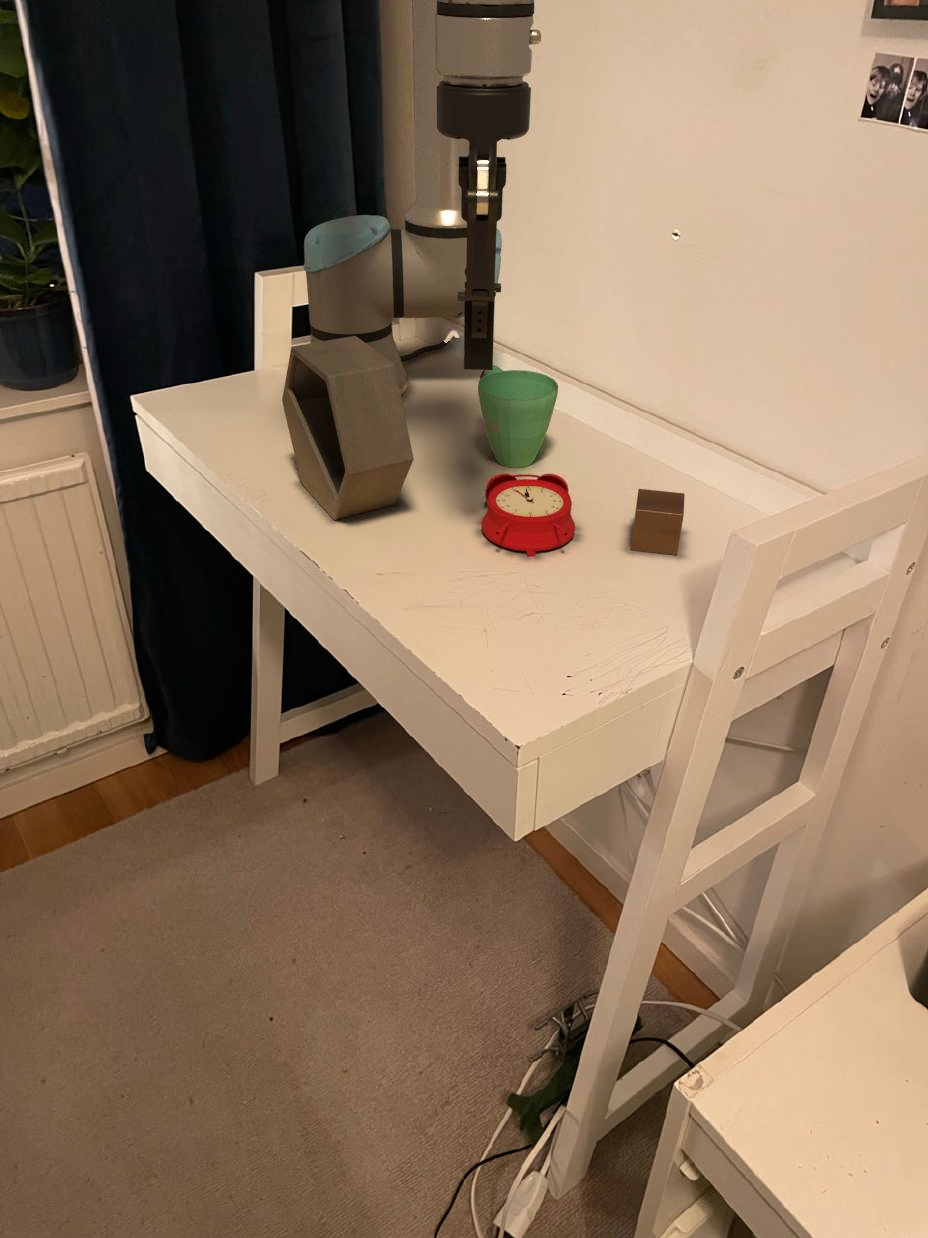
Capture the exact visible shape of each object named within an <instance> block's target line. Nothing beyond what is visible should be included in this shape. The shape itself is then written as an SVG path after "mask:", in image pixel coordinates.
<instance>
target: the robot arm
mask: <svg viewBox="0 0 928 1238" xmlns="http://www.w3.org/2000/svg"><path fill="white" fill-rule="evenodd" d="M411 12H412V13H411V15H412V20H411V21H412V65H413V66H412V67H413V68H412V70H413V73H412V74H413V112H414V113H413V114H414V115H413V117H414V119H413V120H414V121H413V122H414V123H413V124H414V173H415V174H414V175H415V176H414V178H415V183H414V184H415V201H414V203H413V204H412V206H411V207H410V208H408V210H407V211H406V212H405V213H404V228H391V224H390V223H389V221H388V219H387V218H386V217H384V216H381V215H377V214H376V215H375V214H374V215H370V214H361V215H359V214H358V215H352V216H344V217H339V218H335V219H331V220H328V221H325V222H322V223H320V224H318V225H316V226H314V227H313V228H311V229H310V230H309V231H308V232H307V234H306V235H305V237H304V241H303V242H304V243H303V252H304V253H303V254H304V263H303V271H304V272H305V278H306V289H307V300H308V301H307V303H308V315H309V327H310V342H309V344H310V343H316V342H322V341H328V340H334V339H340V338H345V337H351V336H356V337H358V338H359V339H361V340H362V341H363V342H365V343H366V344H368V345H369V346H370V347H372V348H373V349H375V350H376V351H377V352H379V353H380V354H381V355H383V356H384V357H386V358H387V359H388V360H390V361H391V362H393V363H394V365H395V368H396V373H397V378H398V383H399V388H400V393H401V396H402V395H404V394H405V392H406V390H407V385H408V384H407V374H406V369H405V367H404V366H403V363H405V362H409V361H411V360H414V359H416V358H418V357H420V356H421V355H424V354H427V353H431V352H437V351H439V350H442V349H444V348H445V347H447V346H448V345H449V343H450V342H451V341H448V342H447V343H445V342H444V341H443V340H441V342H438V343H435V344H429V345H426V346H423V347H419V348H417V349H416V350H414V351H412V352H410V353H407V354H403V355H400V352H399V350H398V347H397V345H396V344H397V343H396V342H395V339H394V335H393V319H429V318H430V319H431V318H432V319H434V318H435V319H438V318H454V319H458V320H459V319H462V318H463V324H464V325H463V370H464V371H466V370H468V371H483V370H493V365H494V336H495V304H496V296H497V293H502V282H501V283H499V279H500V273H501V272H500V271H501V263H502V256H501V254H502V246H503V244H502V243H503V241H502V232H501V231H500V229H499V228H498V222H499V221H500V220H501V219H502V216H503V195H504V194H503V191H504V188H505V186H506V185H507V163H506V162H507V161H506V156H498V142H499V141H501V140H507V141H512V140H515V139H519V138H522V137H524V136H526V135H527V133H528V132H529V130H530V120H531V118H530V117H531V100H532V99H531V98H532V87H531V86H530V85H529V83H528V82H527V81H524V77H527V76H529V74H531V72H532V61H533V50H532V49H531V48H530V45H539V44H540V43H541V42H542V33H541V30H539V29H531V28H532V27H533V25H534V14H535V0H411Z"/></svg>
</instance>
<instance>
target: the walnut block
mask: <svg viewBox="0 0 928 1238" xmlns="http://www.w3.org/2000/svg"><path fill="white" fill-rule="evenodd" d="M685 494H686V493H685V492H675V491H666V490H665V491H664V490H656V489H646V488H638V489H637V496H636V497H637V498H636V503H635V511H634V512H635V513H634V520H633V526H632V527H633V528H632V534H631V543H630V551H635V552H644V553H652V554H653V553H654V554H663V555H672V556H677V555H678V552H679V546H680V540H681V534H682V528H683V522H684V517H685V516H684V515H685Z"/></svg>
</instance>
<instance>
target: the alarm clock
mask: <svg viewBox="0 0 928 1238" xmlns="http://www.w3.org/2000/svg"><path fill="white" fill-rule="evenodd" d="M522 477H524V478H522ZM525 477H527V478H525ZM528 477H530V478H528ZM518 478H520V479H518ZM531 478H535V479H531ZM536 478H537V479H536ZM484 495H485V499H486V501H487V509H486V512H485V514H484V515H483V517H482V519H481V531H482V533H483V534H484V536H485V537H486V538H487V539H488V540H490V541H491V542H492V543H494V544H496V545H497V546H501V547H503V548H506V549H510V550H514V551H520V552H526V557H536V552H542V551H548V550H552V549H556V548H558V547H561V546H563V545H565V544H566V543H568V542H570V541H571V539H572V538H574V535H575V532H576V524H575V520H574V518H573V517H572V506H573V501H572V498H571V494H570V491H569V485H568V482H567V481H566V480H565V479H564V478H563V477H562V476H560V475H558V474H555V473H544V474H542V475H539V474H538V475H537V474H529V473H528V474H526V473H525V474H522V473H521V474H510V473H507V472H504V473H499V474H498V473H497V474H495V475H493V476H492V477H490V479H489V480H488V482H487V483H486V486H485V490H484Z"/></svg>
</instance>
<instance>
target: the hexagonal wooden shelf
mask: <svg viewBox="0 0 928 1238" xmlns="http://www.w3.org/2000/svg"><path fill="white" fill-rule="evenodd" d="M289 352H290V353H289V358H288V364H287V370H286V375H285V381H284V386H283V393H282V398H281V402H282V406H283V411H284V415H285V419H286V424H287V428H288V433H289V436H290V441H291V446H292V449H293V454H294V458H295V462H296V467H297V472H298V475H299V480H300V484H301V485H302V486H303V487H304V489H305V490H306V491H307V492H308V493H309V494H310V495H311V496H312V497H313V499H314V500H315V501H316V502H317V503H318V504H319V505H320V506H321V508H323V510H324V511H325V512H326V513H327V514H328V516H330V518H332V520H334V521H335V520H339V519H344V518H348V517H352V516H355V515H360V514H363V513H367V512H371V511H375V510H379V509H383V508H387V507H391V506H394V505H395V504H396V503H397V500H398V498H399V495H400V493H401V491H402V488H403V487H404V484H405V481H406V479H407V477H408V475H409V471H410V469H411V467H412V465H413V462H414V454H413V449H412V444H411V439H410V434H409V433H410V432H409V429H408V425H407V419H406V415H405V414H406V413H405V409H404V405H403V399H402V398H403V397H402V395H401V393H400V388H399V383H398V378H397V373H396V368H395V365H394V363H393V362H391V361H390V360H388V359H387V358H386V357H384V356H383V355H381V354H380V353H379V352H377V351H376V350H375V349H373V348H372V347H370V346H369V345H368V344H366V343H365V342H363V341H362V340H361V339H359V338H358V337H356V336H351V337H345V338H340V339H334V340H328V341H322V342H316V343H310V342H309V343H305V344H298V345H293V346H291V348H290V351H289Z"/></svg>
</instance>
